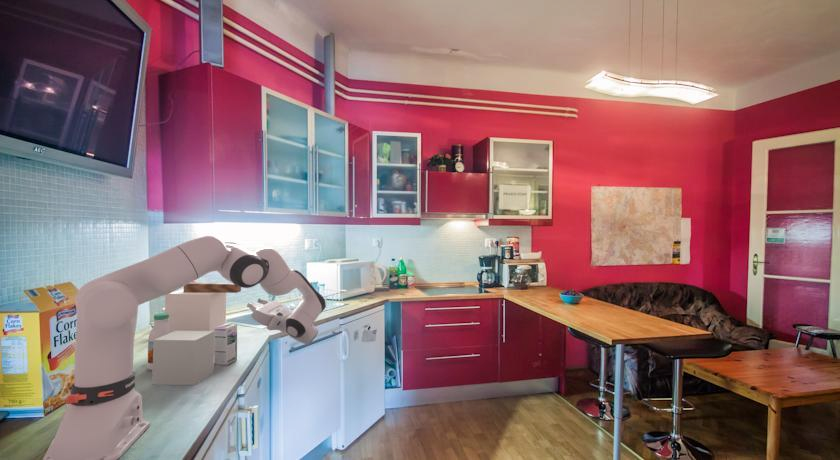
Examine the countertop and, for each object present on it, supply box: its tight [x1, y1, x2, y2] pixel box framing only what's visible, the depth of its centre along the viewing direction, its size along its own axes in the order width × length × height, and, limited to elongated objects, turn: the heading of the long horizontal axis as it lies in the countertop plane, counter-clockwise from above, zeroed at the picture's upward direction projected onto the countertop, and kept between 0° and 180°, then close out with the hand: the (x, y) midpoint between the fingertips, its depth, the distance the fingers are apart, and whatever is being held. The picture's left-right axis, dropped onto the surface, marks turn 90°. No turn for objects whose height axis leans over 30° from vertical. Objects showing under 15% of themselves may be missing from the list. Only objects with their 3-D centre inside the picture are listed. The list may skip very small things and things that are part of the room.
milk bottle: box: [147, 312, 173, 372], centre depth 131 cm, size 8×8×20 cm
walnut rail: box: [183, 282, 242, 294], centre depth 147 cm, size 22×4×4 cm, turn 91°
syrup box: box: [214, 323, 238, 366], centre depth 137 cm, size 6×6×14 cm
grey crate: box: [151, 331, 215, 386], centre depth 122 cm, size 14×11×15 cm
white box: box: [164, 288, 227, 332], centre depth 147 cm, size 18×12×26 cm, turn 91°
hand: (253, 301), depth 147 cm, fingers open, 8 cm apart
